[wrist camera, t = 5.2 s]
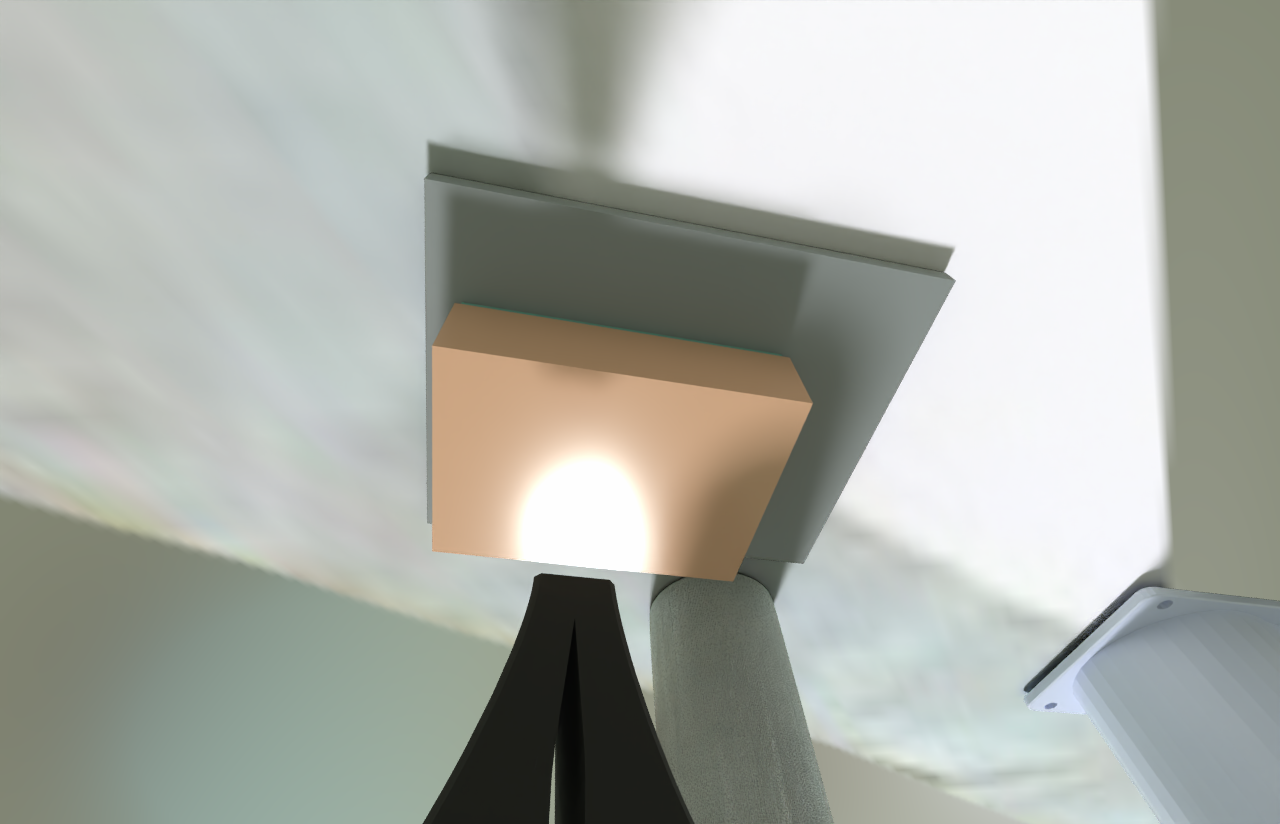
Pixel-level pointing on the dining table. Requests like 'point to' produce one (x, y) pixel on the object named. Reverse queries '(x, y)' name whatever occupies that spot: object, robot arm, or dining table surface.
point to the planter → (731, 706)
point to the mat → (695, 314)
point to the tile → (604, 443)
